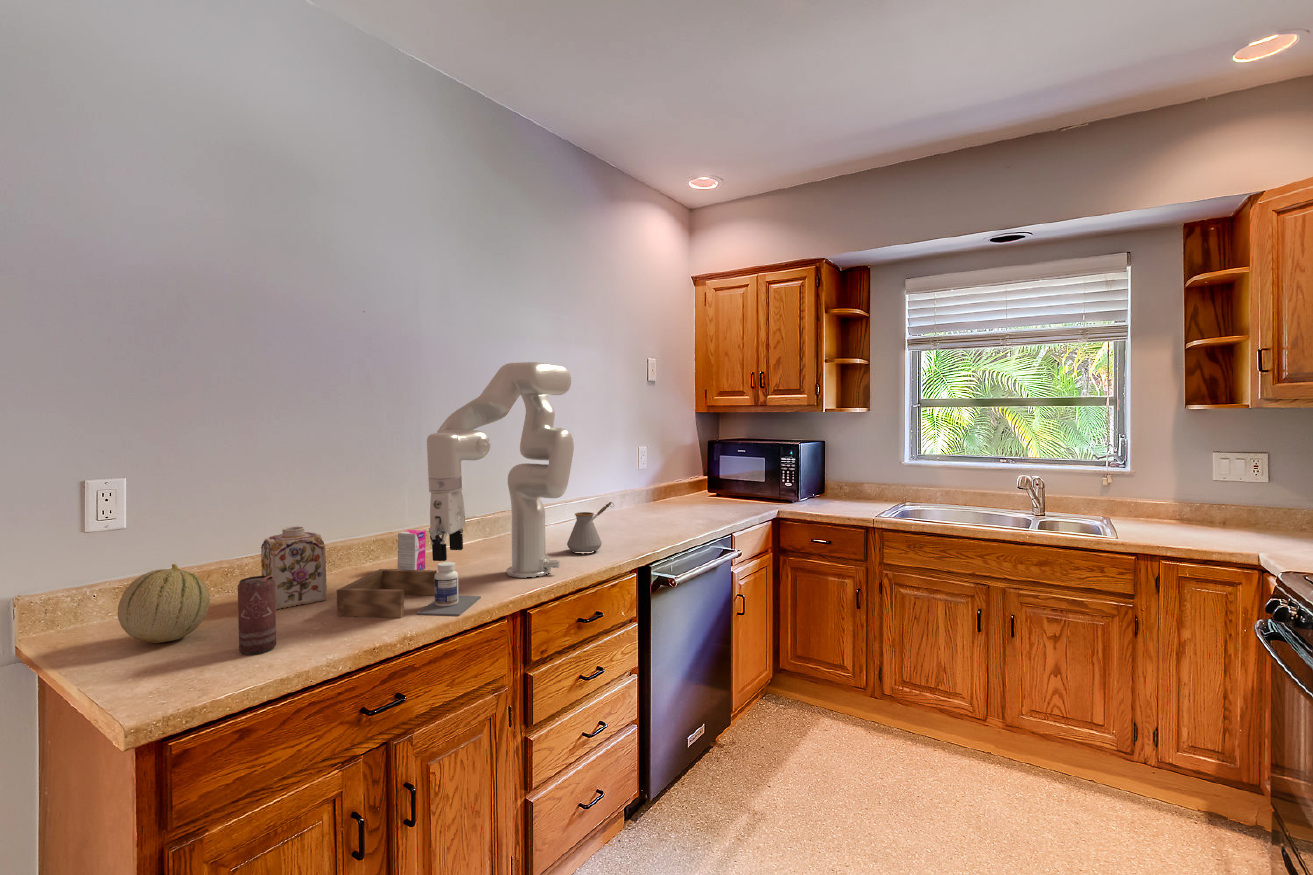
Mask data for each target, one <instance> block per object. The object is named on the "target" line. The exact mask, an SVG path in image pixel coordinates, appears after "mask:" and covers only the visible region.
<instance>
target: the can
mask: <svg viewBox="0 0 1313 875" xmlns="http://www.w3.org/2000/svg"><path fill="white" fill-rule="evenodd" d="M238 582H239V583H238V585H237V612H238V614H237V615H238V651H239V653H241V655H246V656H254V655H255V654H256V655H261V654H260V653H262V654H264V653H268V652H270V651H272V650H273V649H275V647H276V645H277V623H276V622H277V621H276V620H277V618H276V617H277V616H276V611H277V610H275V581H274V578H273V576H262V575H255V576H249V577H245V578H242V579H240V580H239V581H238Z"/></svg>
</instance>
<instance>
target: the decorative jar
mask: <svg viewBox="0 0 1313 875" xmlns="http://www.w3.org/2000/svg"><path fill="white" fill-rule="evenodd" d="M281 532H282V533H281V534H275V535H272V536H269V537H267V538H265V539H264V540H263V542H262V544H261V547H260V548H261V553H260V561H261V562H260V564H261V566H260V567H261V576H273V578H274V581H275V611H277V609H278V610H281V608H283V609H288V608H292V606H293V607H297V606H296V605H298V606H302V605H301V604H304V605H307V604H308V605H310V604H313V603H318V602H319V603H320V602H324V601H326V600H327V557H326V556H327V555H326V545H325V542H324V539H323V537H322V536H321V534H319V533H317V532H309V531H305V527H304V526H300V525H298V526H290V527H289V526H287V527H284V528H282V530H281ZM287 607H288V608H287Z"/></svg>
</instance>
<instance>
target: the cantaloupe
mask: <svg viewBox="0 0 1313 875" xmlns="http://www.w3.org/2000/svg"><path fill="white" fill-rule="evenodd" d="M210 597H211V596H210V593H209V589H208V586H207V584H206V583H205V581H204V580H203V579H202V577H200V576H199V575H197V574H195V573H193V572H191V571H187V570H184V569H183V570H182V569H179V567H178V565H177V564H176V563H172V564H171V568H161V569H155V570H151V571H147V572H146V573H143V574H141V575H140V576H139V577H137V578H135V579H134V580H133V581H132V582H131V583H130V584H129V585H128V586H127V587H126V588H125V590H124V591H123V593H122V595H121V597H120V599H119V602H118V605H117V618H118V620H117V621H118V622H119V625H120V627H121V628H122V629H123V631H125V633H126V634H127V635H128V636H129V637H131V638H133V639H135V640H137V641H141V642H146V643H151V644H163V643H167V642H173V641H177V640H179V639H182V638H183V637H186V636H187V635H189V634H191V633H192V632H194V631H195V630H196V629H197V628H198V627H199V626H200V625H201V624H202V623H203V622H204V620H205V618H206V616H207V614H208V611H209V608H210V604H211V602H210V601H211V598H210Z"/></svg>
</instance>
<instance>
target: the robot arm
mask: <svg viewBox="0 0 1313 875" xmlns="http://www.w3.org/2000/svg"><path fill="white" fill-rule="evenodd" d="M571 386H572V376H571V373H570V371H569V370H568V369H567V368H566V367H565V366H563V365H560V364H550V363H544V362H538V361H537V362H535V361H534V362H532V361H531V362H530V361H526V362H525V361H524V362H522V361H521V362H509V363H506V364H504V365H502V366H501V367H499V369H498V370H497V371H496V373H495V375H494V376H493V377H492V379H491V380H490V382H489V383H488V384H487V385H486V386H485V388H484V389H483V391H482V392H481V394H480V395H479V396H477V397H476V398H475V399H472V400H470V401H469V402H468V403H466V404H465V405H463V406H462V407H459V408H457V409H456V410H455V411H453V413H451V414H450V415H449V416H448V417H447V418H446V419H445V420H444V421H443V423H442V424H441V426H440V427H439V428H438V429H437V432H435V433H430V434H429V435H427V438H426V452H427V474H428V475H427V477H428V480H427V481H428V493H430V502H429V504H430V505H429V525H430V526H429V528H428V533H429V538H430V544H431V548H432V549H431V550H432V552H431V553H432V561H433V562H447V559H448V555H447V554H448V553H447V551H448V549H447V543H445V542H446V538H447V534H448V536H449V537H448V538H449V539H448V540H449V550H450V551H463V549H464V538H463V537H464V536H463V532H464V529H463V528H464V527H465V525H466V514H465V512H466V511H465V504H464V497H463V491H462V490H463V483H462V482H463V478H462V476H463V475H462V474H463V473H462V461H479V460H481V459H483V458H485V457H486V456H487V455H488V453H489V451H490V450H491V442H490V438H489V437H488V435H487V434H486V433H484V432H483V431H480V430H475V429H477V428H481V427H483V426H486V425H489V424H491V423H493V424H494V423H495V422H498V421H499V420H502V419H504V418H505V417H506V416H507V415H508V414H509V412H510V411H511V409H512V407H513V406H514V405H515V403H516V401H517V400H518V399H519V397H521V398H522V401H523V403H524V406H525V416H524V420H523V422H524V423H523V425H522V427H523V428H522V432H521V437H520V443H519V453H520V454H521V456H522V457H523V458H525V459H528V460H531V461H532V460H533V461H548V464H545V463H544V464H543V463H542V464H541V463H530V462H529V463H519V464H516V465H514V466H513V467H512V468H511V469H510V470H509V471H508V475H507V486H508V487H507V488H508V491H509V492H508V493H509V497H510V498H509V499H510V504H511V505H510V506H511V507H510V508H511V566H509V567H508V568H506V571H505V572H506V573H505V574H507V576H509V577H511V578H519V579H520V578H521V579H528V578H527V577H532V578H537V577H536V576H539V577H542V576H543V577H544V576H546V574H547V575H549V574H550V573H551V572H550V571H552V569H560V567H561V562H560V560H557V559H549V555H548V554H546V511H545V507H544V504H543V502H542V501H541V498H543V499H558V498H561V497H563V495H564V494H565V493H566V491H567V488H568V484H569V479H570V474H571V468H572V463H573V456H574V448H575V442H574V438H573V435H572V433H571V432H570V431H569V430H567V429H565V428H561V427H554V425H555V423H554V422H555V416H556V412H555V409H554V406H553V405H552V403H551V402H550V400H549V398H548V397H547V396H562V395H565V394H566V393H568V391H569V390H570V389H571ZM548 573H549V574H548Z"/></svg>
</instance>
